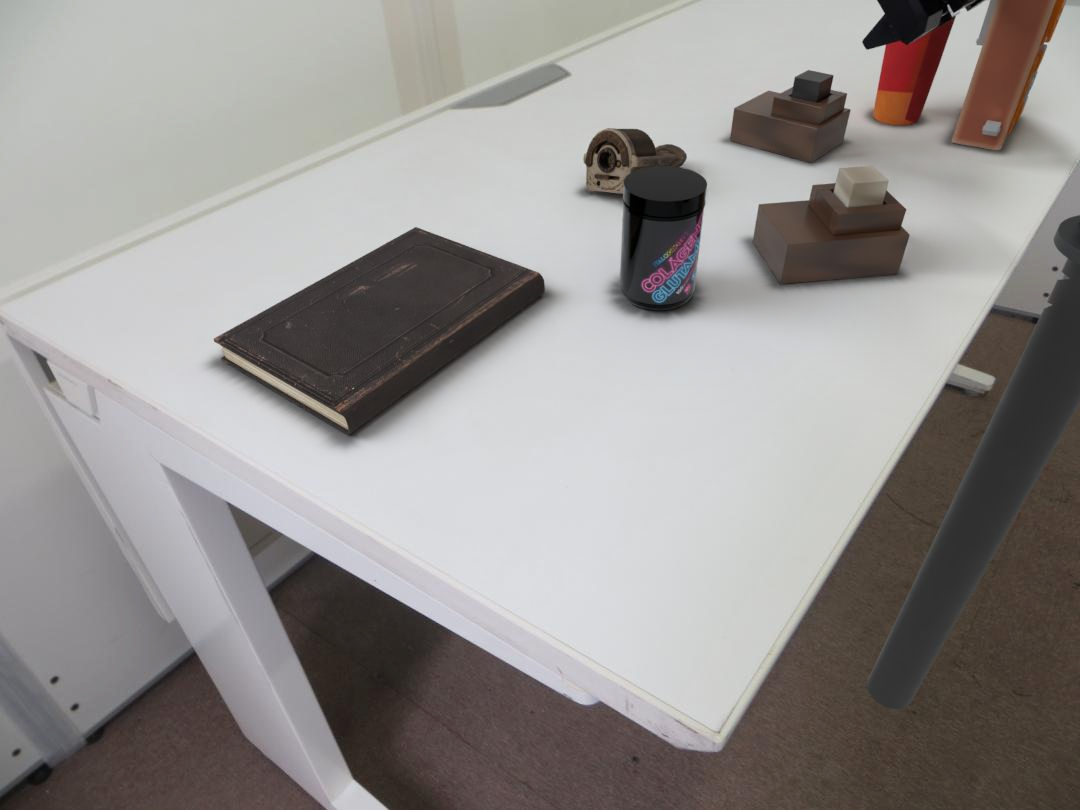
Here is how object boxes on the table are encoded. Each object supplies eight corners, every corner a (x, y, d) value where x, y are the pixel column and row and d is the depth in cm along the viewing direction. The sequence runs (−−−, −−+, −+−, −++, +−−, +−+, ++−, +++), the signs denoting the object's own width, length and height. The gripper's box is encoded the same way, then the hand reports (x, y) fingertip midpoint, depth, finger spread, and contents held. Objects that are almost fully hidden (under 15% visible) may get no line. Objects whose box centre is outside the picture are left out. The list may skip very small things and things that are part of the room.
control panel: (1023, 115, 97) (1004, 156, 88) (964, 106, 100) (940, 145, 91) (1098, -82, 83) (1085, -58, 74) (1027, -85, 86) (1005, -62, 77)
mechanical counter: (561, 129, 84) (599, 140, 76) (662, 99, 87) (710, 106, 78) (573, 193, 88) (611, 210, 79) (669, 162, 90) (716, 175, 82)
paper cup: (915, 106, 101) (949, -12, 91) (937, 127, 95) (974, 4, 86) (855, 107, 101) (883, -10, 92) (873, 129, 95) (904, 6, 86)
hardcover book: (221, 361, 62) (213, 338, 61) (418, 247, 76) (415, 226, 74) (352, 438, 55) (345, 414, 53) (545, 296, 68) (544, 274, 67)
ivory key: (866, 192, 70) (873, 165, 68) (881, 207, 67) (889, 180, 65) (832, 194, 69) (838, 167, 68) (846, 210, 67) (853, 182, 65)
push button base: (843, 142, 92) (854, 91, 88) (811, 163, 88) (821, 111, 84) (763, 121, 98) (771, 73, 94) (729, 140, 94) (736, 90, 90)
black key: (829, 97, 88) (834, 75, 87) (815, 105, 87) (820, 82, 85) (804, 92, 90) (808, 69, 88) (790, 99, 88) (794, 76, 87)
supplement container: (622, 315, 65) (627, 203, 59) (615, 275, 71) (619, 167, 64) (700, 312, 65) (715, 199, 59) (687, 272, 71) (699, 164, 64)
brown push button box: (860, 233, 75) (876, 175, 71) (898, 274, 69) (917, 213, 65) (752, 241, 74) (761, 183, 71) (780, 284, 68) (792, 223, 64)
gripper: (1004, -155, 73) (866, -37, 86) (924, -135, 63) (782, -4, 76) (1061, -53, 74) (916, 49, 87) (991, -16, 63) (839, 93, 77)
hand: (865, 45), depth 81 cm, fingers closed
